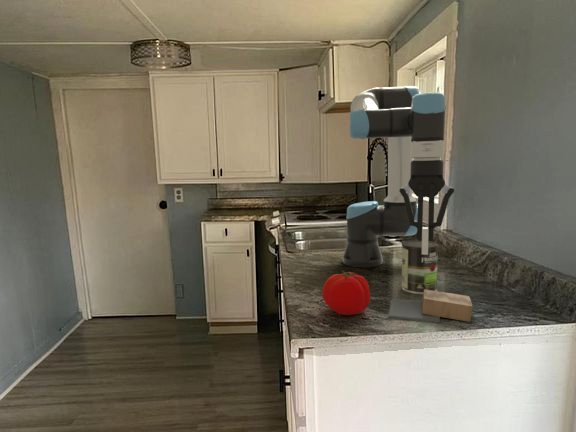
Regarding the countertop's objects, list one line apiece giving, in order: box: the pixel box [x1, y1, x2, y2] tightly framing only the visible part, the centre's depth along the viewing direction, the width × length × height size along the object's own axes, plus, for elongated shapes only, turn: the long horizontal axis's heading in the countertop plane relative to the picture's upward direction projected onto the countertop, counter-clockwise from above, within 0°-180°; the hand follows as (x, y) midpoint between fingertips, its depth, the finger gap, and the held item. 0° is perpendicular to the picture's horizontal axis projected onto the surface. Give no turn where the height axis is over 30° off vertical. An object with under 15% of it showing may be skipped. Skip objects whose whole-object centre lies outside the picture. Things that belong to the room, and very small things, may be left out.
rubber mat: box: [387, 298, 441, 324], centre depth 98 cm, size 12×12×1 cm
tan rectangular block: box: [421, 289, 474, 323], centre depth 95 cm, size 7×4×11 cm
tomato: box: [321, 269, 372, 316], centre depth 99 cm, size 13×12×11 cm
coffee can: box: [401, 239, 439, 296], centre depth 114 cm, size 10×10×14 cm
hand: (424, 253), depth 96 cm, fingers closed
